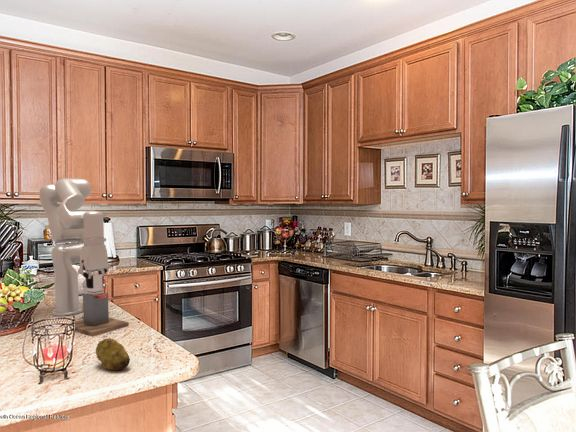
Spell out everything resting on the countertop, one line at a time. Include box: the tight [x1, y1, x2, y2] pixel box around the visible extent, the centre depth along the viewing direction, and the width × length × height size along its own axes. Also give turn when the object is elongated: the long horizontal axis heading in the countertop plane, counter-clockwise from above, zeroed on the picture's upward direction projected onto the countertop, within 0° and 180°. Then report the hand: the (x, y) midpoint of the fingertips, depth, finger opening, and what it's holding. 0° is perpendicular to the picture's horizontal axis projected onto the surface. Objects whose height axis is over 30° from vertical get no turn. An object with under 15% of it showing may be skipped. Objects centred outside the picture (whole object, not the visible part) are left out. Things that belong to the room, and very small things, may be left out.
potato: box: [95, 337, 131, 371], centre depth 138 cm, size 8×13×8 cm, turn 34°
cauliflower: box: [72, 264, 86, 296], centre depth 243 cm, size 20×18×16 cm
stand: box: [74, 292, 130, 337], centre depth 180 cm, size 20×16×14 cm
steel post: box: [88, 272, 104, 296], centre depth 180 cm, size 4×4×20 cm
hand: (95, 286), depth 180 cm, fingers closed on steel post, 4 cm apart
